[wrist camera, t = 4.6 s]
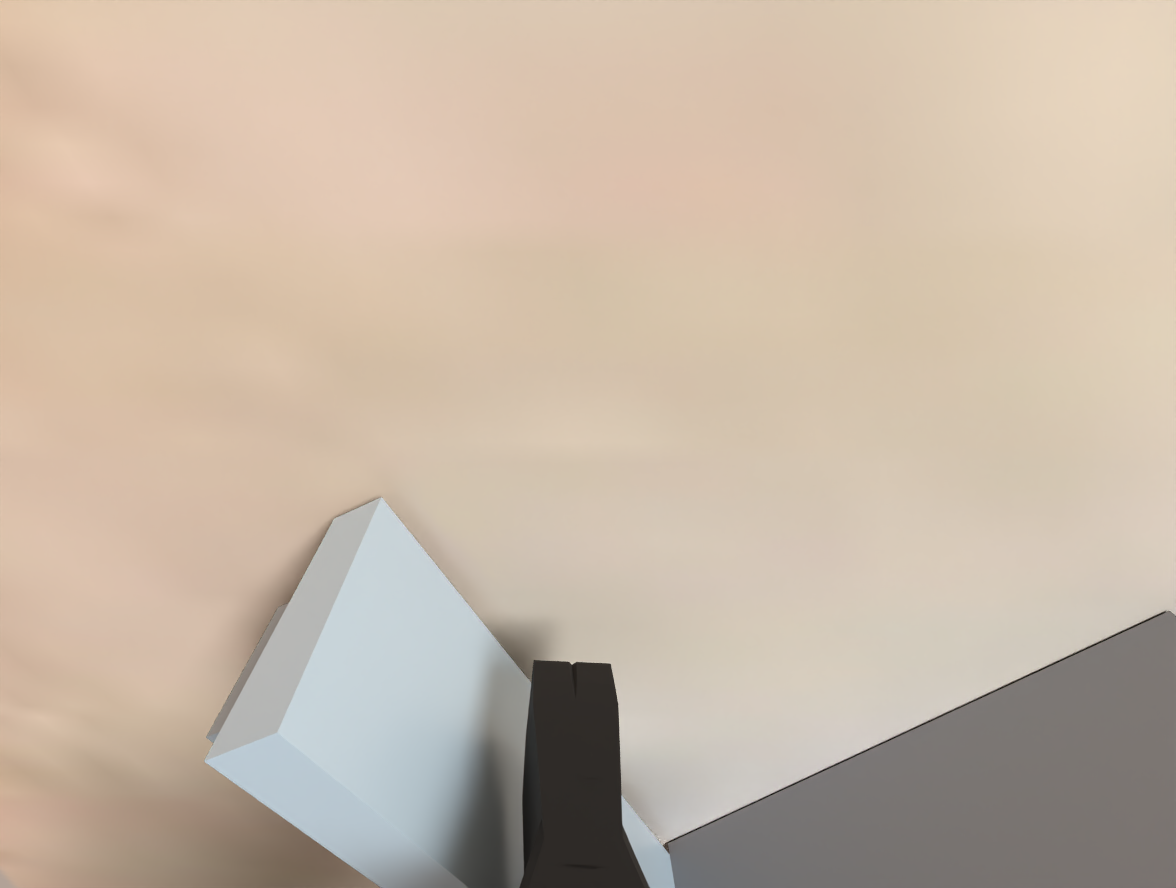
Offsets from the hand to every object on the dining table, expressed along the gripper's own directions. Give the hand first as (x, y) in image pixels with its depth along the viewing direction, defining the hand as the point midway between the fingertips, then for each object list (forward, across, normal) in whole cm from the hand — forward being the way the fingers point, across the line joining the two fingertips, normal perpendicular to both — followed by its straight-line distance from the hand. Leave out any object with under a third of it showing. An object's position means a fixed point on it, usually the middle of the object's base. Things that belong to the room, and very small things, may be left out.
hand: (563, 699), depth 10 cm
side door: (+2, +1, +4) cm, 4 cm away
